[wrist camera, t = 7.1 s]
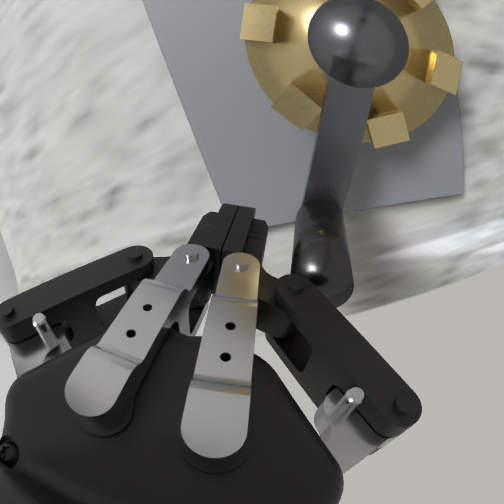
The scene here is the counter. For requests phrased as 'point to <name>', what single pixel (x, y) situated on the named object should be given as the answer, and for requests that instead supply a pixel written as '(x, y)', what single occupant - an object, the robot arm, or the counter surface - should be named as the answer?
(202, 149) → the base plate
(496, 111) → the counter surface
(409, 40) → the lever with gold dial
